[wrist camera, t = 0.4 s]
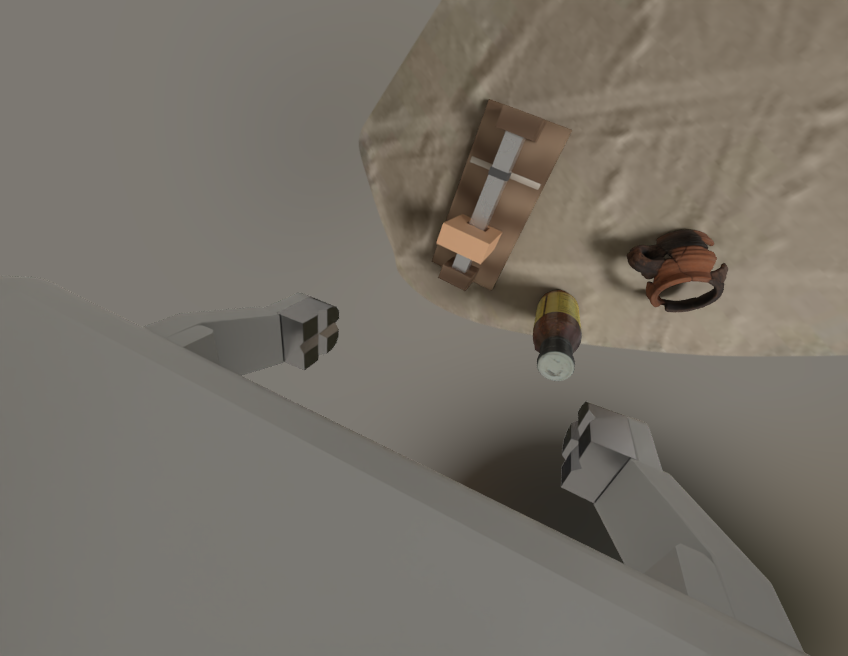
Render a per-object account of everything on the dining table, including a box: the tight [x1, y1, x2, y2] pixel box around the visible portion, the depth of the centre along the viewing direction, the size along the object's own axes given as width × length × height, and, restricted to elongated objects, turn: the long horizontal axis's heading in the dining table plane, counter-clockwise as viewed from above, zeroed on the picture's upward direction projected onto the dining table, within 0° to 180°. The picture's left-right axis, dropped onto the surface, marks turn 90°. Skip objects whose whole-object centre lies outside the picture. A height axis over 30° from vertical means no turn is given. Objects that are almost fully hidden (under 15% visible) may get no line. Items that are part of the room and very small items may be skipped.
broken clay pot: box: [627, 230, 728, 312], centre depth 42 cm, size 12×9×8 cm
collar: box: [436, 214, 502, 264], centre depth 47 cm, size 3×7×9 cm, turn 71°
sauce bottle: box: [533, 290, 582, 381], centre depth 44 cm, size 7×6×20 cm
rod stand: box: [432, 99, 572, 291], centre depth 47 cm, size 25×12×6 cm, turn 161°
